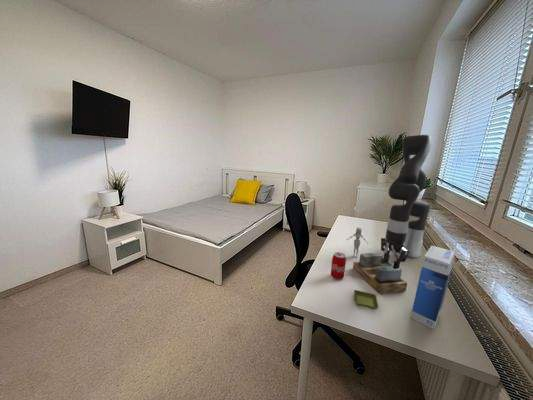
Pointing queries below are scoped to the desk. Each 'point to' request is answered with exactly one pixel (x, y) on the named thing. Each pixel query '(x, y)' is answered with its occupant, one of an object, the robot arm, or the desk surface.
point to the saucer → (365, 299)
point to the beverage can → (338, 266)
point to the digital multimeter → (385, 263)
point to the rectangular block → (387, 274)
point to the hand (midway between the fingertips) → (390, 264)
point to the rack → (368, 272)
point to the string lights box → (432, 285)
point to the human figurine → (357, 240)
